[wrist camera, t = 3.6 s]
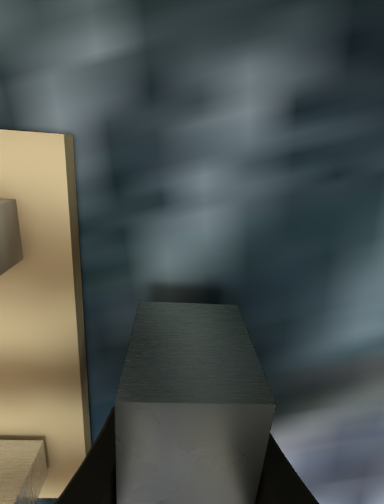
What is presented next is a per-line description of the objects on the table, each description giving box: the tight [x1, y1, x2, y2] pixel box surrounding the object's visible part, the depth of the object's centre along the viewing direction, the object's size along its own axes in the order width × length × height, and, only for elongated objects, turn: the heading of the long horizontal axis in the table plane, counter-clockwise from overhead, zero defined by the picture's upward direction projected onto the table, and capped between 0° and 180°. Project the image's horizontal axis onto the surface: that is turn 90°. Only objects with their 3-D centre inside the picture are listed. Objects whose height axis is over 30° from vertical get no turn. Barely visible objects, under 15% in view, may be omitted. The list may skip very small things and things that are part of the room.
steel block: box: [115, 301, 276, 504], centre depth 11 cm, size 8×4×5 cm, turn 176°
